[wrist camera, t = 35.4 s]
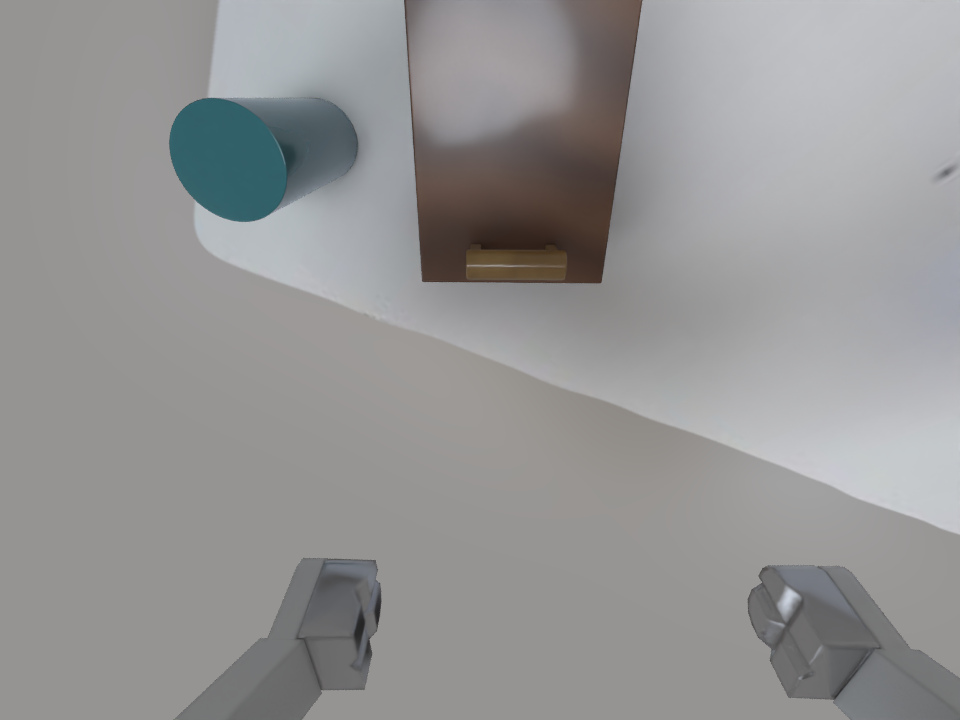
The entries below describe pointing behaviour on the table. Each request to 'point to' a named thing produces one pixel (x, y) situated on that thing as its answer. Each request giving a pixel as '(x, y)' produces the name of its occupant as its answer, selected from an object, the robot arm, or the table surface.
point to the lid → (517, 134)
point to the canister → (259, 152)
